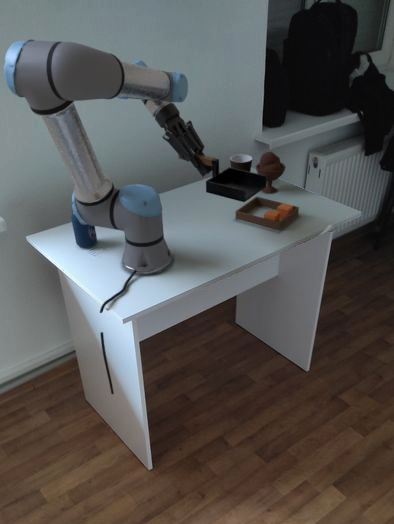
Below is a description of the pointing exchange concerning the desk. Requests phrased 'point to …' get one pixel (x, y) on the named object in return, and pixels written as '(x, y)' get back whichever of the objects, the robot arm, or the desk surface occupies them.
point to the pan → (232, 181)
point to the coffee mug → (241, 162)
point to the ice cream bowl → (270, 169)
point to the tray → (264, 222)
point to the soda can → (83, 233)
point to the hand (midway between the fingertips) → (208, 172)
